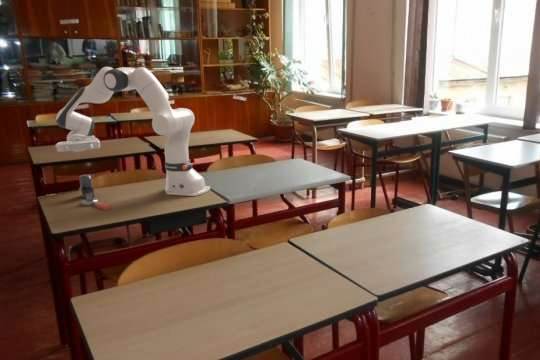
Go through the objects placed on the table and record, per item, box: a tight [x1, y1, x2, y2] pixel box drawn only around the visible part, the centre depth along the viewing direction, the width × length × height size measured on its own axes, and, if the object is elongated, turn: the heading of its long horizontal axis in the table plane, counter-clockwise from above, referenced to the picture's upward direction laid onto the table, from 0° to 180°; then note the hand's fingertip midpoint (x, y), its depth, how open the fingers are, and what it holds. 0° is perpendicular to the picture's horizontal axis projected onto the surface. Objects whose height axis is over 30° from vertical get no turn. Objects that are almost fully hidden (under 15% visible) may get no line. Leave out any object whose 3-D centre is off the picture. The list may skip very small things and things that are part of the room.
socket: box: [79, 174, 95, 199], centre depth 223 cm, size 5×5×10 cm
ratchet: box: [81, 193, 113, 211], centre depth 211 cm, size 18×7×4 cm, turn 53°
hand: (79, 148), depth 229 cm, fingers open, 8 cm apart
